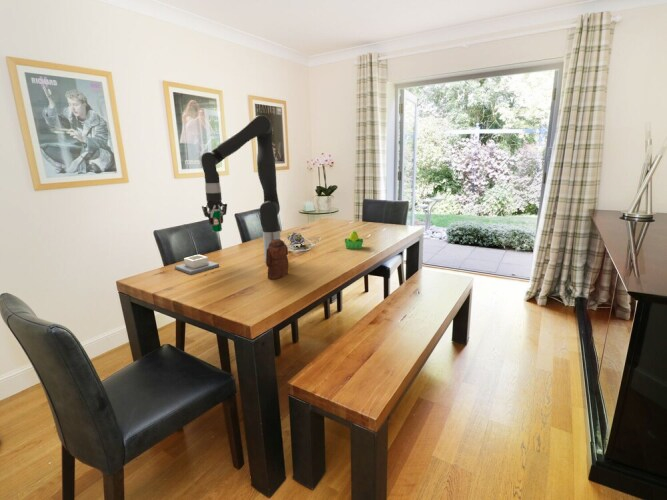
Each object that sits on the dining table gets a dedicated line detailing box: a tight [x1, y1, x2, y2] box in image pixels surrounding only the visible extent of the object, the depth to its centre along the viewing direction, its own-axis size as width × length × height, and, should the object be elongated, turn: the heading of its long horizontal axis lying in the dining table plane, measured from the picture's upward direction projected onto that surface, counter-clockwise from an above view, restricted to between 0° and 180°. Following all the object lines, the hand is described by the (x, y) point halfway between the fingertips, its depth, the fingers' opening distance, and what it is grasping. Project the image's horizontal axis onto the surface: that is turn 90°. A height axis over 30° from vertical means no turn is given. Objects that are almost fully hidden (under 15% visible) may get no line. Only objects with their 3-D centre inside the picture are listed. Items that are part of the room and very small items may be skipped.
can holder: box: [174, 254, 220, 275], centre depth 184 cm, size 16×16×6 cm
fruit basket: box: [344, 230, 364, 250], centre depth 215 cm, size 11×9×11 cm
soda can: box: [210, 209, 223, 233], centre depth 185 cm, size 5×5×12 cm
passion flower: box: [287, 231, 307, 246], centre depth 221 cm, size 11×11×12 cm
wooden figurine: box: [265, 238, 289, 280], centre depth 167 cm, size 12×6×18 cm, turn 151°
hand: (216, 223), depth 186 cm, fingers closed on soda can, 5 cm apart
